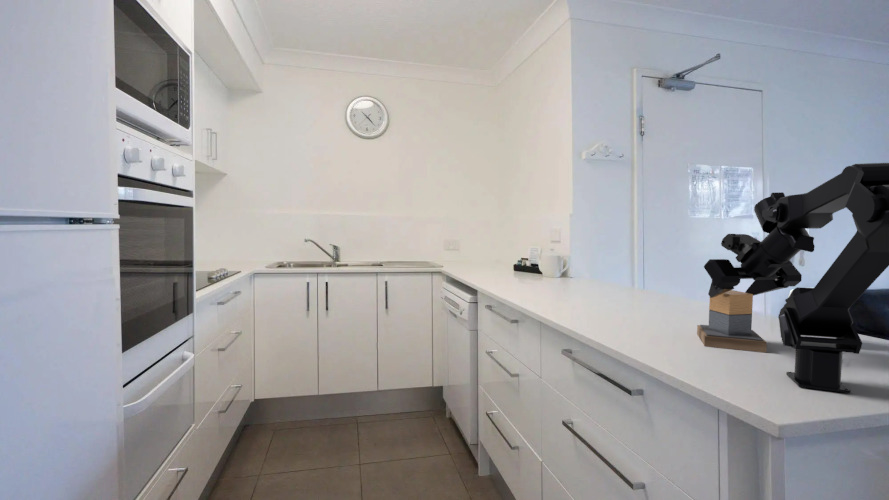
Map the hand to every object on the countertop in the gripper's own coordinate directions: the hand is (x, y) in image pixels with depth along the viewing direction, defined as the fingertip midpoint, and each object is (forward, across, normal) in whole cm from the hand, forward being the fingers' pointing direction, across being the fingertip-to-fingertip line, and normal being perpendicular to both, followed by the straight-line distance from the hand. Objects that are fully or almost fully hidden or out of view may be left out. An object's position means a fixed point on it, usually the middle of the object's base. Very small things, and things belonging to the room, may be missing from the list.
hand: (728, 295), depth 93 cm
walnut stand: (+7, 0, +8) cm, 11 cm away
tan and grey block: (+5, 0, +6) cm, 8 cm away
